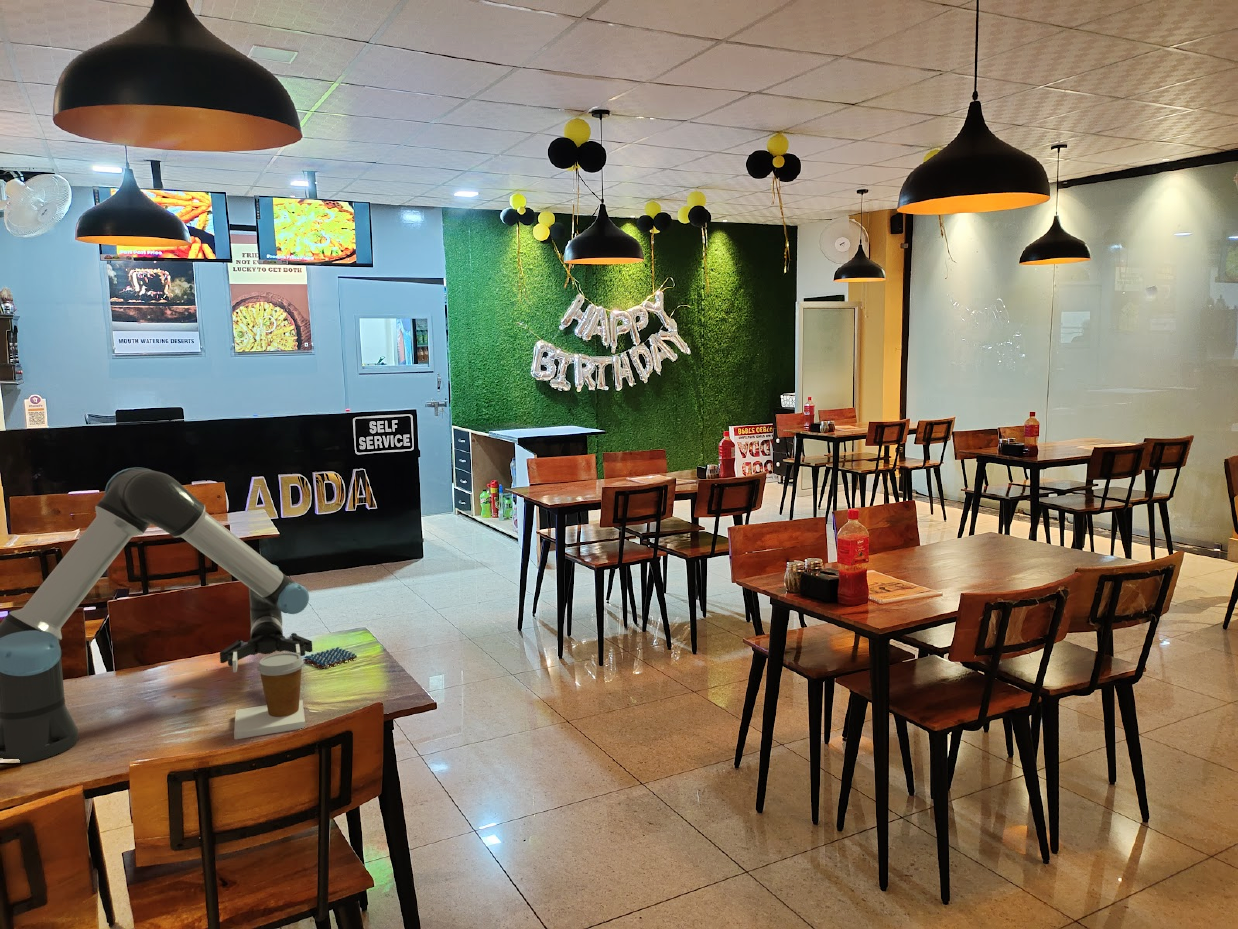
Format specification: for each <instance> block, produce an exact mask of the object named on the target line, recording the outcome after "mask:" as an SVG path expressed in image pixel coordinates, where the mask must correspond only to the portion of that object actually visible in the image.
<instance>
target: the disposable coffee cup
mask: <svg viewBox="0 0 1238 929" xmlns="http://www.w3.org/2000/svg"><path fill="white" fill-rule="evenodd" d="M304 663H305V662H304V661H303V658H302V656H300V655H299V654H296V653H294V652H279V653H272V654H269V655H266V656H264V657H263V658H261V659H260V660H259V662H258V665H257V671H258V673H259V674H260V679H261V682H262V688H263V694H264V698H265V703H266V705H267V708H268V713H269V715H270V716H273V717H283V716H288V715H291V714H294V713H296V712H297V711H298V710H299V700H300V697H301V696H300V695H301V684H302V683H301V682H302V668H303V665H304Z"/></svg>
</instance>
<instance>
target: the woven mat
mask: <svg viewBox="0 0 1238 929" xmlns="http://www.w3.org/2000/svg"><path fill="white" fill-rule="evenodd" d="M303 657H304V659H303V658H302V660H303V661H305V662H304V663H307V664H308V665H310V664H313V665H314V666H313V665H312V666H313V667H315V666H316V667H315V668H317V667H319V668H324V669H327V668H328V669H330V668H331V667H330V666H332V665H335V666H334V667H337V666H338V665H337V664H340V665H342V664H341V663H342V662H343V663H344V662H345V661H348V662H349V660H350V661H352V660H351V659H356V660H357V658H358V655H357V654H356V653H353V652H350V651H349V650H346V649H343V648H340V647H339V646H337V647H335V648H333V647H332V648H331V649H326V650H324V651H320V652H315V653H313V654H309V655H305V656H303ZM328 665H329V666H328ZM336 665H337V666H336ZM325 667H327V668H325ZM319 668H318V669H319Z"/></svg>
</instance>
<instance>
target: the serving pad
mask: <svg viewBox="0 0 1238 929" xmlns="http://www.w3.org/2000/svg"><path fill="white" fill-rule="evenodd" d="M305 718H306V717H305V710H304V702H303V699H299V710H298V711H297V712H296V713H294V714H291V715H288V716H283V717H273V716H270V715H269V713H268V708H267V704H266V705H260V706H252V707H246V708H240V709H236V710H235V716H234V729H233V731H234V732H233V733H234V734H233V737H234V740H241V739H246V738H252V737H257V736H265V735H270V734H276V733H283V732H289V731H295V730H302V729H305V728H306V719H305ZM304 727H305V728H304ZM301 728H302V729H301Z"/></svg>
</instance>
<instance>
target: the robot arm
mask: <svg viewBox="0 0 1238 929" xmlns="http://www.w3.org/2000/svg"><path fill="white" fill-rule="evenodd" d="M94 510H95V513H96V516H95V518H94V519H93V520H92V522H90V524H89V526H88V527H87V528H86V529H85V530H84V532H83V533H82V534H81V536H79V538H78V539H76V541H75V543H74V544H73V545H72V547H71V548H70V549H69V550H68V551H67V553H66V554H65V555H64V556H63V558H62V559H61V560H60V561H59V563H58V564H57V565H56V566H55V567H54V568H53V570H52V571H51V573H50V574H49V575H48V576H47V578H45V580H44V581H43V582H42V584H41V585H40V586H39V587H38V588H37V590H36V591H35V593H33V595H32V596H31V597H30V599H29V600H28V601H27V602H26V603H25V604H24V606H23V607H22V608H20V609H16V610H15V609H14V610H11V611H9V613H8V614H7V615H6V616H5V617H4V618H3V620H2V621H1V622H0V758H3V759H19V760H20V763H21V764H26V763H32V762H37V761H42V760H44V759H48V758H51V757H54V756H57V755H59V754H61V753H64V752H66V751H68V750H70V749H71V748H73V747H74V746H75V745H76V744H77V743H78V741H79V729H78V726H77V724H76V723H75V721H74V719H73V717H72V715H71V713H70V712H69V710H68V707H67V706H66V699H65V686H64V678H63V677H64V676H63V667H62V649H61V648H62V647H61V645H60V643H61V641H62V639H63V635H62V631H61V630H62V627H63V626H64V625H65V623H66V622H67V621H68V620H69V618H70V617H71V616H72V614H73V613H74V612H75V611H76V610H77V609H78V607H79V605H80V604H81V603H82V601H83V600H84V599H85V598H86V597H87V595H88V593H89V592H90V591H91V590H92V589H93V587H94V586H95V585H96V584H97V582H98V581H99V580H100V578H101V577H102V576H103V574H104V573H105V572H106V570H108V569H109V567H110V565H111V564H112V563H113V561H114V560H115V559H116V558H117V557H118V555H119V554H120V553H121V552H122V550H123V549H124V548H125V546H126V545H127V544H128V543H129V541H130V540H131V539H132V538H133V537H136V536H141V535H143V534H144V533H145V532H146V531H147V529H148V528H149V527H150V526H151V525H153V526H154V527H158V529H161V530H162V531H164V532H166V533H167V534H169V535H170V536H172V537H173V538H182V539H184V540H185V541H186V542H187V543H189V544H190V545H191V546H192V547H194V548H195V549H197V551H199V552H200V553H202V554H203V555H204V556H206V557H207V558H209V559H210V560H211V561H213V562H214V563H215V564H217V565H218V566H219V567H220V568H222V569H224V570H225V571H226V572H227V573H229V574H230V575H232V576H233V577H234V578H235V579H236V580H238V581H239V582H241V583H242V584H243V585H244V586H246V587H247V588H248V595H249V596H248V598H249V610H250V611H249V614H250V615H249V616H250V639H248V641H246V642H245V641H243V640H242V639H240V638H239V639H237V640H235V642H234V643H233V644H230V645H229V646H228V647H225V649H223V650H221V651H220V652H219V658H220V659H219V662H220V663H221V664H225V663H227V665H228V667H232V673H237V672H238V663H239V662H238V661H239V660H242V659H244V658H246V657H248V656H255V655H257V654H262V655H272V654H274V653H275V652H279V653H283V652H284V651H285V652H288V653H296V654H299V655H300V656H301V657H306V653H312V652H313V641H312V640H310V639H307V638H305V637H302V636H300V635H298V634H297V633H295V632H292V633H290V635H289V636H288V637H285V635H284V634H283V632H284V631H283V616H282V613H283V614H288V615H297V614H299V613H302V611H304V610H305V608H306V607H307V606H308V604H309V601H310V594H309V591H308V590H307V588H306V587H305V586H303V585H302V584H301V583H297V582H295V581H294V580H292V578H290V577H288V576H287V575H286V574H285V573H283V572H282V570H280V568H279V566H277V565H275V564H272V563H271V562H269V561H268V560H267V559H266V558H265V557H263V556H262V555H261V554H259V552H257V551H256V550H254V549H253V548H252V547H251V546H250V545H248V544H247V543H245V542H244V541H243V540H242V539H241V538H240V537H238V536H236V534H235V533H233V532H232V531H231V530H229V529H228V528H227V527H225V526H224V525H223V524H222V523H221V522H220V521H218V520H217V519H216V518H214V517H213V516H211V515H210V514H209V513H208V512H207V511H206V505H205V504H204V503H203V502H201V501H200V500H199V499H197V497H196V496H194V494H192V493H191V492H190V491H189V490H188V489H187V488H185V487H184V486H183V485H182V484H181V483H180V482H179V481H178V480H176V479H175V478H174V477H173V476H170V475H169V474H168V473H164V472H161V471H156V470H152V469H149V468H145V467H130V468H126V469H125V468H124V469H122V470H121V471H118V472H117V473H115V474H114V475H112V477H111V478H110V479H109V480H108V482H107V483H106V486H105V489H104V495H103V496H102V498H101V499H100V500H99V502H98V503H97V504H96V505H95V507H94ZM67 749H68V750H67ZM58 753H59V754H58ZM56 754H57V755H56ZM50 756H51V757H50Z"/></svg>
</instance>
